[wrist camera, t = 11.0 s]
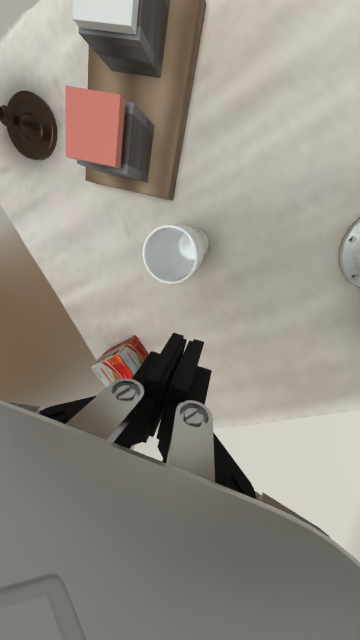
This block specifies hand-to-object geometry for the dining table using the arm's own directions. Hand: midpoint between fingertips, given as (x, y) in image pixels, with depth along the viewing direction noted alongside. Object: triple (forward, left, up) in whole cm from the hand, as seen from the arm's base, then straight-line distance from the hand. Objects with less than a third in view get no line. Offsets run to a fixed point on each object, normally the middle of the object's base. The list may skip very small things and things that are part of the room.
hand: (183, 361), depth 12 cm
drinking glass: (+6, -2, -31) cm, 32 cm away
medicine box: (+12, +27, -32) cm, 43 cm away
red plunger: (+18, -13, -27) cm, 35 cm away
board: (+18, -19, -31) cm, 41 cm away
